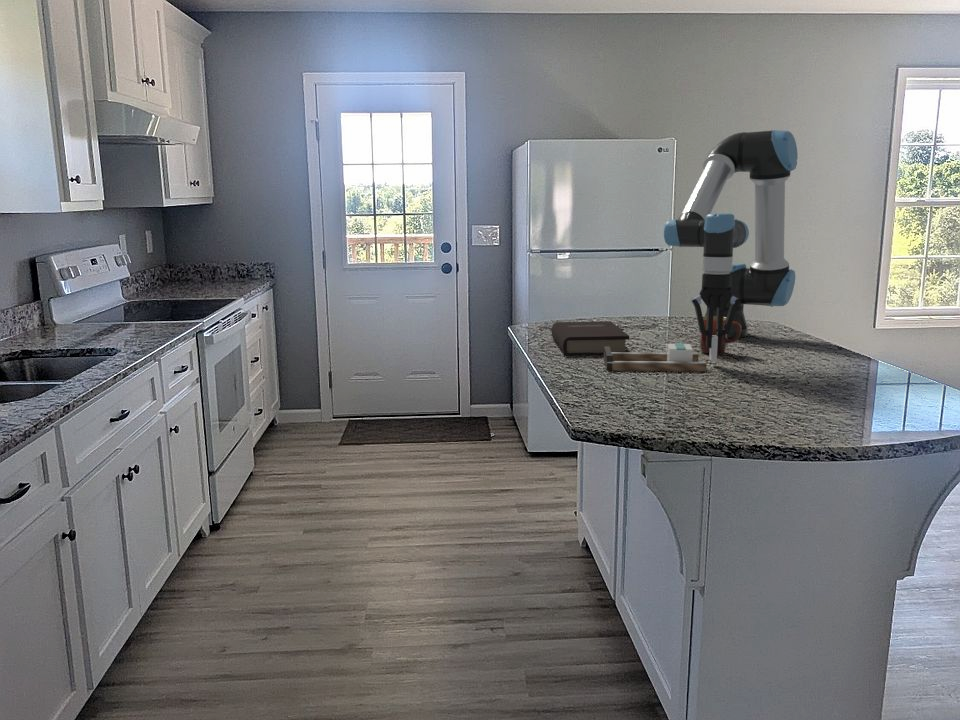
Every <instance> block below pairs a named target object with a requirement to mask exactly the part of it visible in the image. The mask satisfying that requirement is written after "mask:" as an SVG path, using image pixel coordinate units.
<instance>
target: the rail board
mask: <svg viewBox="0 0 960 720" xmlns="http://www.w3.org/2000/svg"><path fill="white" fill-rule="evenodd" d="M603 363H604V366H605V370H606V371H623V372H624V371H627V372H628V371H633V372H634V371H636V372H638V371H639V372H640V371H641V372H642V371H644V372H645V371H647V372H648V371H649V372H653V371H654V372H655V371H657V372H660V371H661V372H662V371H663V372H664V371H665V372H707V363H708V362H707V361H699V352H693V357H692V362H680V361H667V352H629V351H628V352H611V350H610V347H609V346H604V355H603Z"/></svg>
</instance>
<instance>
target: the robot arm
mask: <svg viewBox="0 0 960 720" xmlns="http://www.w3.org/2000/svg"><path fill="white" fill-rule="evenodd" d="M702 164H703V165H702V169H703V170H702V172H701V174H700V176H699V178H698V180H697V182H696V185H695V186H694V188H693V190H692V192H691V193H690V196H689V198H688V200H687V201H686V203H685V206H684V207H683V210H682V212H681V213H680V216H678V218H677V219H676V218H674V219H668V220H667V221H666V222H665V224H664V228H663V239H664V242H665V243H666V245H667V246H670V247H678V248H703V251H702V252H703V255H702V256H703V257H702V259H703V260H702V271H703V272H704V273H703V274H702V275H701V289H700V291H699V295H697V296H696V297H692V298H691V299H690V302H691V303H692V305H693V306H694V311H695V316H696V321H697V324H698V329H699V332H700V333H699V334H700V335H701V333H702V334H704V335H706V347H707V348H710V353H709V354H708V355H709V357H708V358H709V360H710V361H712V362H716V361H717V360H718V355H717V348H721V342H722V336H723V335H725V334H727V338H728V339H733V338H735V337H736V335H737V332H738V326H737V325H735V324H733V325H732V322H733V321H735V322H738V323H740V325H741V334H740V336H739V338H745V337H747V336H748V335H749V334H748V333H749V327H748V325H747V321H746V317H745V314H744V305H751V306H752V305H753V306H766V307H784V306H786V305H787V304H789V302H790V300H791V298H792V295H793V292H794V288H795V283H796V271H795V270H794V269H790V262H789V261H788V260H787V259H786V258H785V216H786V215H785V213H786V211H785V209H786V206H785V201H786V200H785V199H786V197H785V196H786V181H788V179H789V178H790V177H791V172H792V171H794V170H795V169H796V168H797V165H798V147H797V143H796V138H795V137H794V135H793V134H792V132H791V131H789V130H777V129H774V130H773V129H772V130H763V131H761V130H760V131H750V132H746V131H743V132H737V133H734V134H732V135H729V136H728V137H725V138H724V139H722V140H721V141H720V142H719V143H718V144H716V145H715V146H714V147H713V148H712V149H711V151H709V153H708V154H707V155H706V157H705V159H704V161H703V163H702ZM740 172H741V173H742V172H744V173H749V180H751V182H753V184H754V260H753V261H751V263H750V264H749V268H748V267H747V265H746V263H733V260H734V259H733V257H734V254H733V253H734V249H735V248H739V247H741V246H742V245H744V244H745V243H746V242H747V240H748V238H749V236H750V231H749V227H748V225H747V224H746V223H745V222H744V221H742V220H740V219H737V218H736V219H735V214H733V213H712V211H713V209H714V207H715V205H716V203H717V201H718V199H719V197H720V195H721V193H722V191H723V189H724V187H725V184H726V183H727V181H729V179H731V178H732V177H733V176H734V174H736V173H740ZM702 301H703V303H704V304H705V306H706V312H705V314H704V316H703V312H702V307H701V304H702ZM705 316H707V326H706V330H705V326H704V321H703V317H705ZM713 316H717V321H716V335H712V333H713ZM723 317H727V318H726V321H725V325H724V328H723ZM739 338H738V339H739Z"/></svg>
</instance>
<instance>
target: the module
mask: <svg viewBox="0 0 960 720" xmlns="http://www.w3.org/2000/svg"><path fill="white" fill-rule="evenodd" d="M666 348H667V350H666V351H667V352H666V353H667V361H680V362H692V357H693V353H694V349H693V347H692V345H691V344H690V343H684V342H674V343H667V346H666Z"/></svg>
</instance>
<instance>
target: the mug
mask: <svg viewBox="0 0 960 720" xmlns="http://www.w3.org/2000/svg"><path fill="white" fill-rule="evenodd" d="M726 318H727V317H723V328H724V325H725V321H726ZM703 321H704V326H705V330H706V326H707V316H705V315H704V316H703ZM716 321H717V316H713V333H712V335H716ZM733 324H735V325H737V326H738V332H737V335H736V337H735V338H727V334H725V335H723V336H722V342H721V348H717V356H718V355H723V354H724V353H725V352H726V349H727V344H730V343H734V342H735V341H737V340H739V336H740V334H741V325H740V323H738V322H735V321H733V322H732V325H733ZM699 339H700V340H699V348H700V349H699V350H700V352H701V353H703V354H705V355H709V353H710V348H707V347H706V335H704V334H702V333H701V334H700V337H699Z"/></svg>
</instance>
